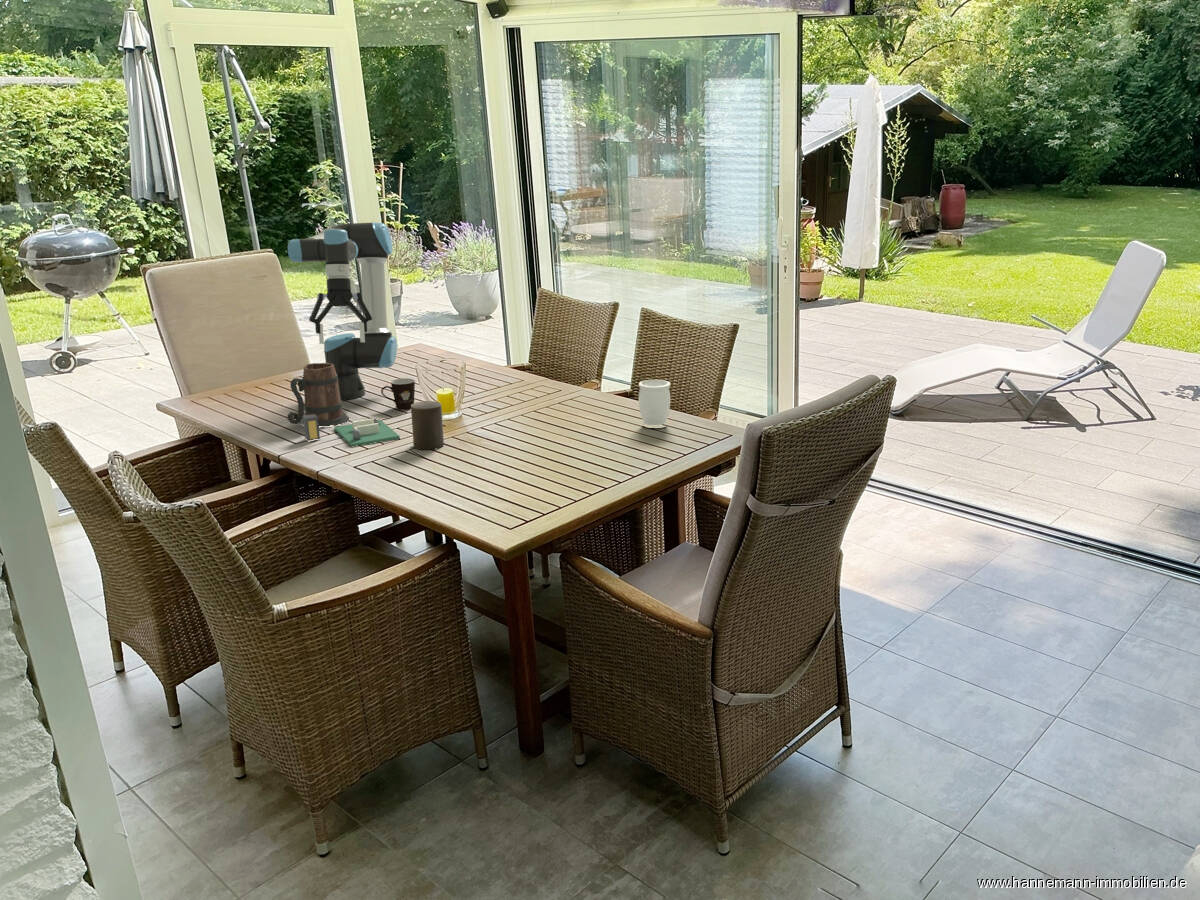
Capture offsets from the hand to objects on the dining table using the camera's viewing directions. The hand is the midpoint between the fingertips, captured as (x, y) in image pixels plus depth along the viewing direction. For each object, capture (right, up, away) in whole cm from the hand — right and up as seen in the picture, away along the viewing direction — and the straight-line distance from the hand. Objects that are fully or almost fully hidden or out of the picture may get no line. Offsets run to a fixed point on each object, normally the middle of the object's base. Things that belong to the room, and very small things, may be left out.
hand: (342, 343), depth 320 cm
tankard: (-13, -26, +18) cm, 35 cm away
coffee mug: (+12, -20, +35) cm, 42 cm away
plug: (-10, -32, 0) cm, 33 cm away
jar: (+104, -28, +6) cm, 107 cm away
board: (+7, -30, +5) cm, 31 cm away
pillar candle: (+30, -34, -8) cm, 46 cm away
